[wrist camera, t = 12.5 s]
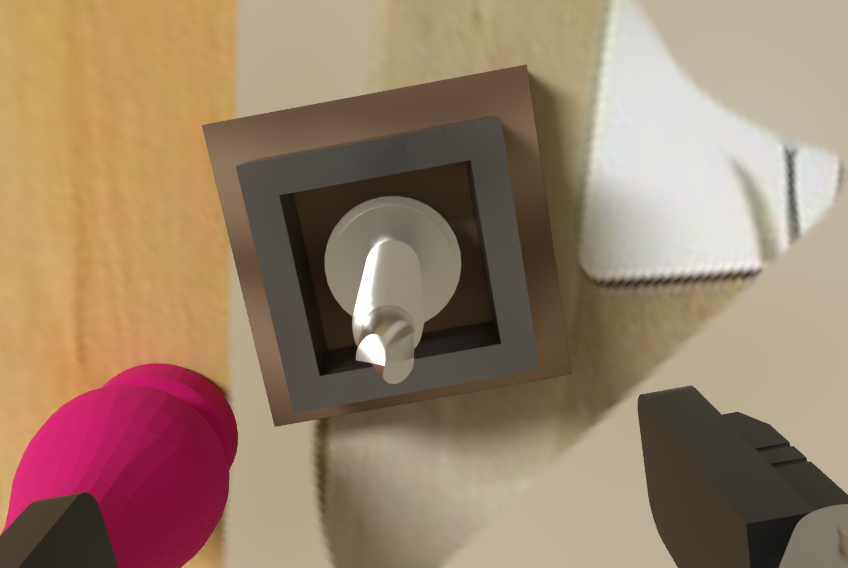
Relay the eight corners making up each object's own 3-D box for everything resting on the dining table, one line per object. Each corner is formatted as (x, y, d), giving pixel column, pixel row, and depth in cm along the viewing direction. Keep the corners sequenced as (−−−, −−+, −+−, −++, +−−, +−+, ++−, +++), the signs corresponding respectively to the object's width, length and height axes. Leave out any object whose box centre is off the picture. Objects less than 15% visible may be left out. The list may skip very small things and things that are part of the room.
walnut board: (211, 124, 30) (201, 125, 28) (520, 66, 30) (526, 64, 28) (280, 412, 33) (274, 426, 31) (563, 361, 32) (571, 374, 31)
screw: (326, 192, 29) (455, 187, 29) (334, 317, 30) (459, 312, 30) (264, 261, 16) (493, 252, 16) (281, 472, 17) (496, 463, 18)
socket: (253, 159, 29) (235, 166, 26) (491, 115, 29) (500, 117, 26) (304, 384, 31) (293, 413, 28) (526, 343, 31) (539, 369, 28)
